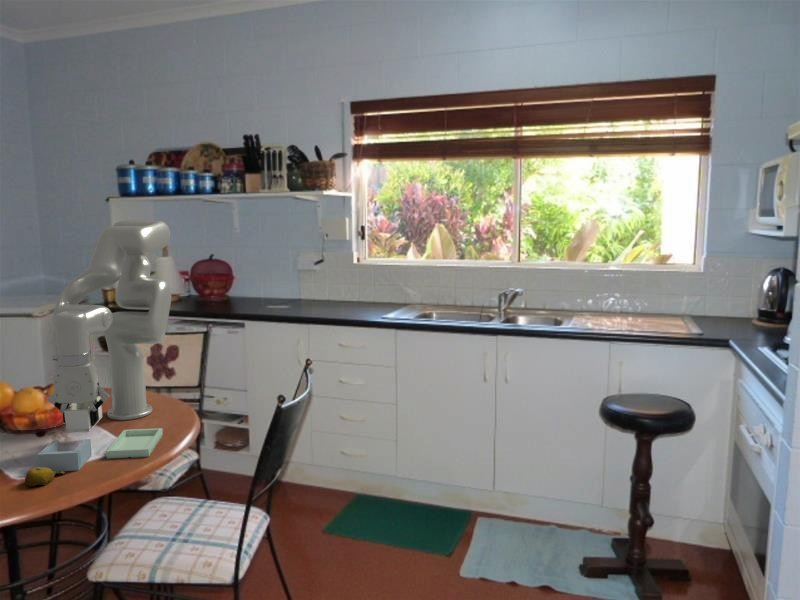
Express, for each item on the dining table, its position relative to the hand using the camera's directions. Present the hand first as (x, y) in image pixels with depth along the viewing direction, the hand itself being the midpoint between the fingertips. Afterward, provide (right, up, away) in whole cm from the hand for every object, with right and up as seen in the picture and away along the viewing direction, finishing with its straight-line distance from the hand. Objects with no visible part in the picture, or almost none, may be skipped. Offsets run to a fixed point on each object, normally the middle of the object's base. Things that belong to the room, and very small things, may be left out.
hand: (81, 423), depth 160 cm
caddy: (0, -1, +2) cm, 2 cm away
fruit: (+1, -10, -18) cm, 20 cm away
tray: (+14, -6, +1) cm, 15 cm away
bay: (+1, -8, -10) cm, 13 cm away
